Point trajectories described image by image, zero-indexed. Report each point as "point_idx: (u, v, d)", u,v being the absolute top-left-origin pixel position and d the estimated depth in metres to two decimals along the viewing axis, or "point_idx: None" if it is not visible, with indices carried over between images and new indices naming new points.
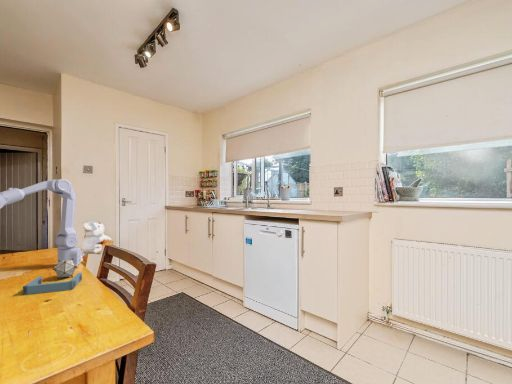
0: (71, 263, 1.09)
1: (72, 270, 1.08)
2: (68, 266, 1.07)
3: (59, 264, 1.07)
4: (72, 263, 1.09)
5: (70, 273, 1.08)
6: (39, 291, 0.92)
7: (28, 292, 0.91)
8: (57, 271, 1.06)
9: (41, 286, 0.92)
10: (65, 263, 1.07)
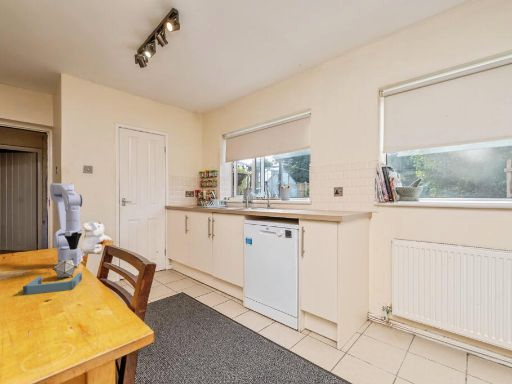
0: (71, 263, 1.09)
1: (72, 270, 1.08)
2: (68, 266, 1.07)
3: (59, 264, 1.07)
4: (72, 263, 1.09)
5: (70, 273, 1.08)
6: (39, 291, 0.92)
7: (28, 292, 0.91)
8: (57, 271, 1.06)
9: (41, 286, 0.92)
10: (65, 263, 1.07)
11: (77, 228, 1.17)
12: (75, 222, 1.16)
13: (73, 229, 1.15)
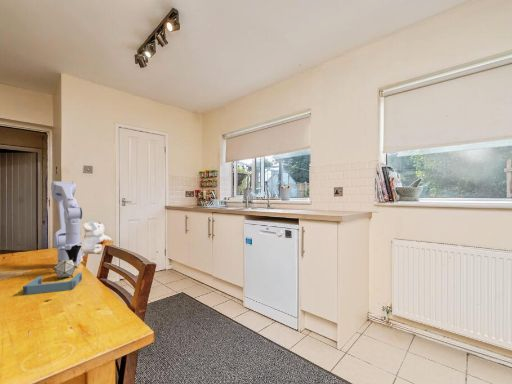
0: (71, 263, 1.09)
1: (72, 270, 1.08)
2: (68, 266, 1.07)
3: (59, 264, 1.07)
4: (72, 263, 1.09)
5: (70, 273, 1.08)
6: (39, 291, 0.92)
7: (28, 292, 0.91)
8: (57, 271, 1.06)
9: (41, 286, 0.92)
10: (65, 263, 1.07)
11: (77, 241, 1.17)
12: (75, 235, 1.16)
13: (73, 242, 1.15)
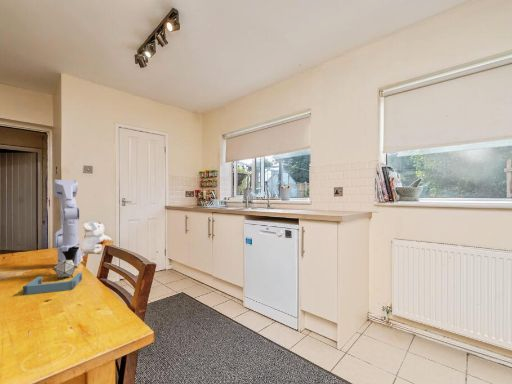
0: (71, 263, 1.09)
1: (72, 270, 1.08)
2: (68, 266, 1.07)
3: (59, 264, 1.07)
4: (72, 263, 1.09)
5: (70, 273, 1.08)
6: (39, 291, 0.92)
7: (28, 292, 0.91)
8: (57, 271, 1.06)
9: (41, 286, 0.92)
10: (65, 263, 1.07)
11: (74, 242, 1.13)
12: (72, 236, 1.13)
13: (70, 243, 1.12)
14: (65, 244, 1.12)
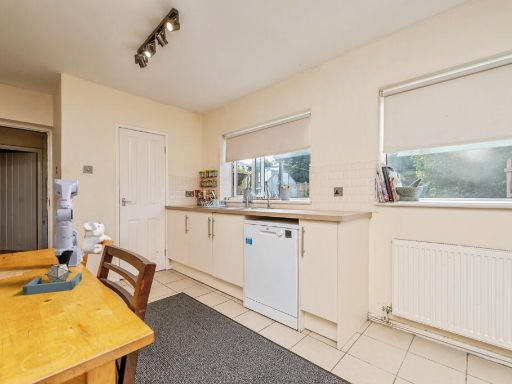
0: (65, 268, 1.02)
1: (66, 275, 1.02)
2: (61, 271, 1.00)
3: (52, 269, 1.00)
4: (66, 268, 1.03)
5: (64, 278, 1.01)
6: (39, 291, 0.92)
7: (28, 292, 0.91)
8: (49, 276, 0.99)
9: (41, 286, 0.92)
10: (58, 268, 1.00)
11: (68, 246, 1.06)
12: (66, 239, 1.06)
13: (64, 247, 1.05)
14: (58, 247, 1.05)
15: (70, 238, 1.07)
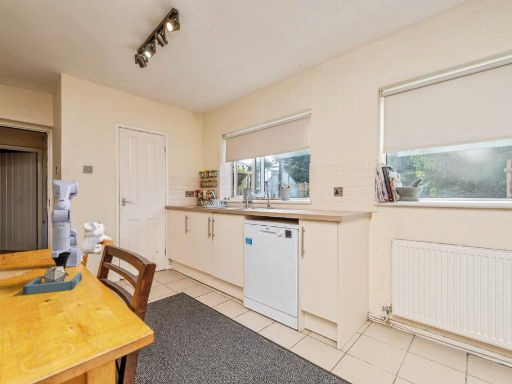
0: (61, 270, 0.99)
1: (62, 278, 0.98)
2: (57, 274, 0.97)
3: (48, 271, 0.97)
4: (62, 270, 0.99)
5: (60, 281, 0.98)
6: (39, 291, 0.92)
7: (28, 292, 0.91)
8: (45, 279, 0.96)
9: (41, 286, 0.92)
10: (54, 270, 0.97)
11: (65, 247, 1.03)
12: (63, 241, 1.03)
13: (61, 249, 1.02)
14: (55, 249, 1.01)
15: (67, 239, 1.04)
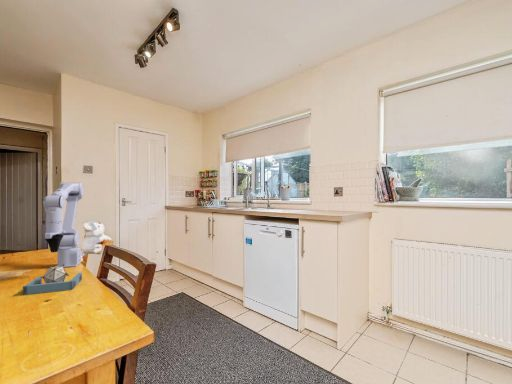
0: (61, 270, 0.99)
1: (62, 278, 0.98)
2: (57, 274, 0.97)
3: (48, 271, 0.97)
4: (62, 270, 0.99)
5: (60, 281, 0.98)
6: (39, 291, 0.92)
7: (28, 292, 0.91)
8: (45, 279, 0.96)
9: (41, 286, 0.92)
10: (54, 270, 0.97)
11: (58, 230, 1.12)
12: (56, 224, 1.11)
13: (54, 231, 1.10)
14: (49, 232, 1.10)
15: (60, 223, 1.13)
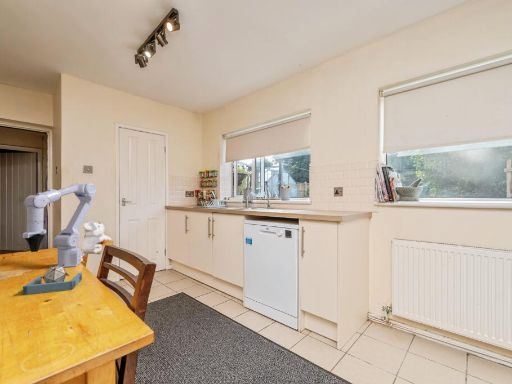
0: (61, 270, 0.99)
1: (62, 278, 0.98)
2: (57, 274, 0.97)
3: (48, 271, 0.97)
4: (62, 270, 0.99)
5: (60, 281, 0.98)
6: (39, 291, 0.92)
7: (28, 292, 0.91)
8: (45, 279, 0.96)
9: (41, 286, 0.92)
10: (54, 270, 0.97)
11: (38, 230, 1.12)
12: (36, 223, 1.12)
13: (33, 231, 1.11)
14: (28, 231, 1.11)
15: (40, 223, 1.13)
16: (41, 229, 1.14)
